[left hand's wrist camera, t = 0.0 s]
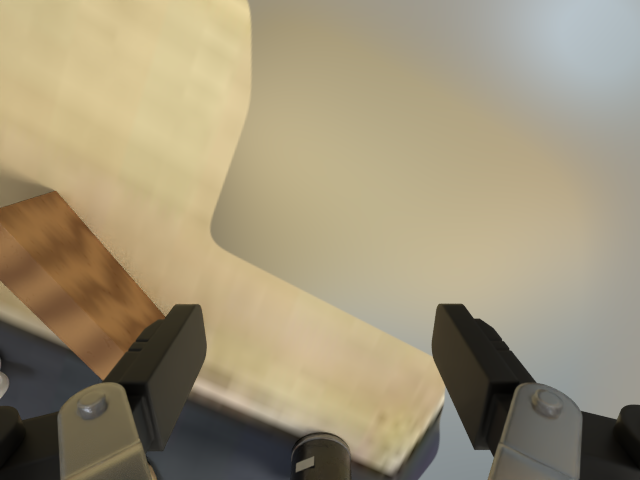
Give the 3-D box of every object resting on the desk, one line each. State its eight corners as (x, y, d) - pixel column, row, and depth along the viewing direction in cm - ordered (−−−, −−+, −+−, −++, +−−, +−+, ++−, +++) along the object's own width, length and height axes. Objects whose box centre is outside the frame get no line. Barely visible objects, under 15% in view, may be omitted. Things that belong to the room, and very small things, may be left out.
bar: (184, 338, 47) (156, 386, 39) (157, 352, 48) (124, 402, 40) (55, 190, 40) (-12, 211, 32) (26, 210, 41) (-47, 235, 32)
